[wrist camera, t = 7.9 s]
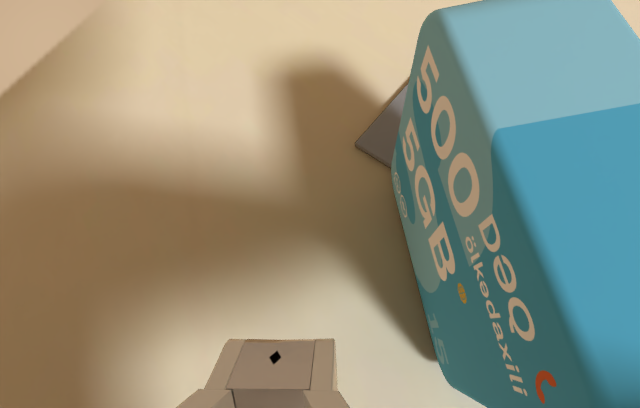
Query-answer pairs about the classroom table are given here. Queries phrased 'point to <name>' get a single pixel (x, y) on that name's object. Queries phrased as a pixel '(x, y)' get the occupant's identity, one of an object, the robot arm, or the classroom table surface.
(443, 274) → the data package
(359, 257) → the classroom table surface
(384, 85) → the classroom table surface
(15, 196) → the classroom table surface
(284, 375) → the robot arm
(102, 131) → the classroom table surface
